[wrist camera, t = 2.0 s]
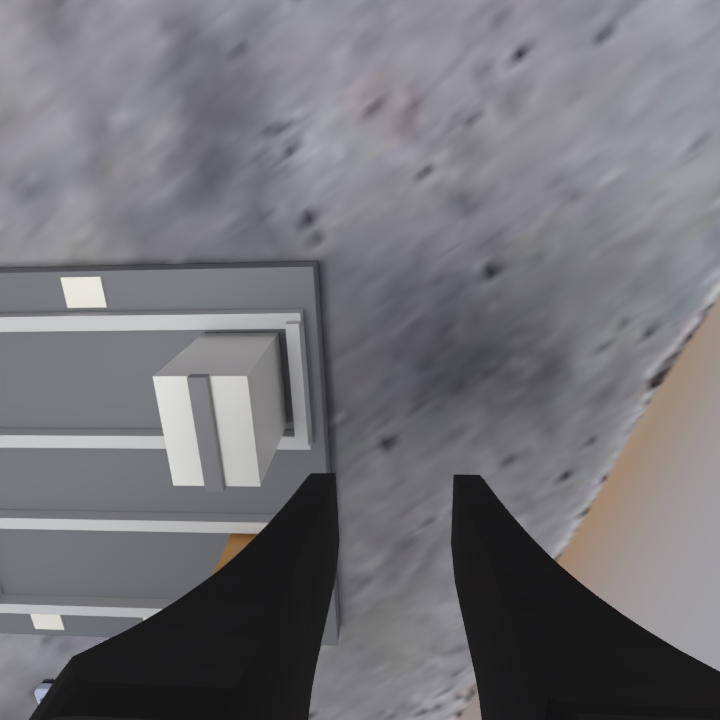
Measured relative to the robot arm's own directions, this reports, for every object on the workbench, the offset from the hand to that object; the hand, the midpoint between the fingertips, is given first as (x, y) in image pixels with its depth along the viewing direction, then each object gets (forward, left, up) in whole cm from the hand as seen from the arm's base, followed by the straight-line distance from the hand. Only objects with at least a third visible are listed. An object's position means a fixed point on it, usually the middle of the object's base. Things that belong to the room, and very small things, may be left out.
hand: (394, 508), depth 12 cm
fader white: (0, +6, -8) cm, 10 cm away
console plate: (-5, +14, -9) cm, 18 cm away
